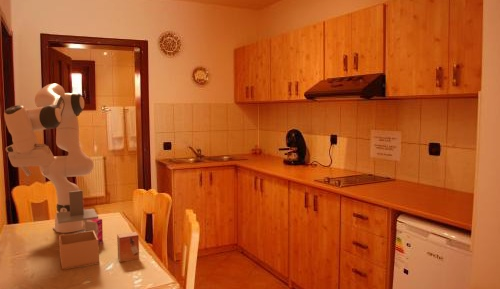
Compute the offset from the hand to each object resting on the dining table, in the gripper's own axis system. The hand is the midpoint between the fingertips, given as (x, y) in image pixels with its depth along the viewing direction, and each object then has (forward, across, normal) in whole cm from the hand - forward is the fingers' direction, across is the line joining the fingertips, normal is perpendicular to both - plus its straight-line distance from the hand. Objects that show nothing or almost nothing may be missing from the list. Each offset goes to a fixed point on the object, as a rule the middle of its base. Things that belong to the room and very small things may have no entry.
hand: (38, 174), depth 171 cm
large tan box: (+35, -17, +10) cm, 40 cm away
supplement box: (+41, -9, -8) cm, 42 cm away
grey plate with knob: (+17, -18, +5) cm, 26 cm away
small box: (+39, -35, +4) cm, 53 cm away
